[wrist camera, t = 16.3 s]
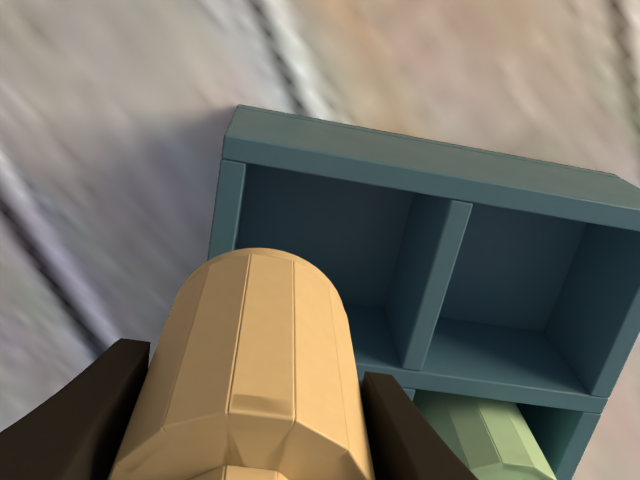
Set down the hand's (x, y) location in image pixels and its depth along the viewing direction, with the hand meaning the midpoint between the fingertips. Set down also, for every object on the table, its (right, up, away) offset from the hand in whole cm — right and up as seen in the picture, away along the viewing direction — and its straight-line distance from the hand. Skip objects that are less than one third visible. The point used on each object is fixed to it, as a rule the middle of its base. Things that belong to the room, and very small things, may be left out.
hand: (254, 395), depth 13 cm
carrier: (+4, +1, +11) cm, 12 cm away
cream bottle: (0, +1, +3) cm, 3 cm away
